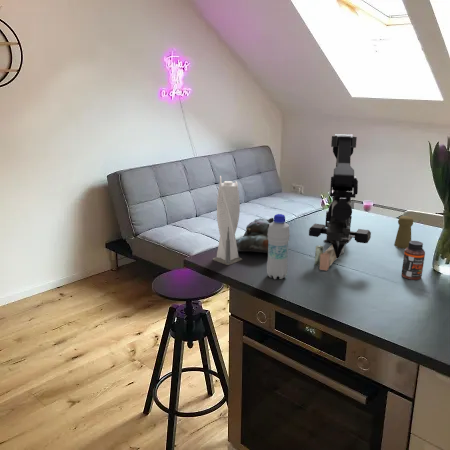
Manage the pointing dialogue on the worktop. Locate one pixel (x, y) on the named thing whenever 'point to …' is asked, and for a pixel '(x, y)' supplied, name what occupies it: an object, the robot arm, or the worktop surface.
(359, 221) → the worktop surface
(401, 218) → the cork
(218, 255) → the skyscraper
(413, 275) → the supplement bottle
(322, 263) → the light brown wooden plank
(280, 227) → the bottle
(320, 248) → the gate posts
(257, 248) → the grey lumpy mass
